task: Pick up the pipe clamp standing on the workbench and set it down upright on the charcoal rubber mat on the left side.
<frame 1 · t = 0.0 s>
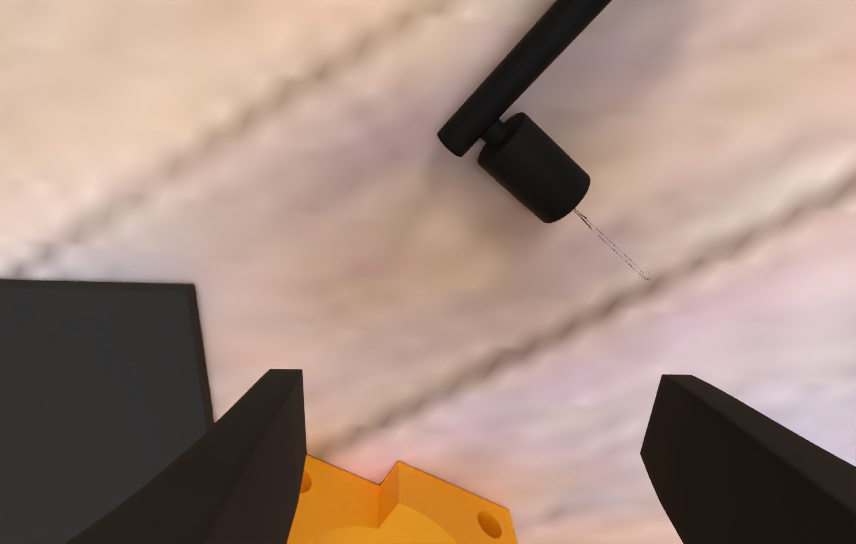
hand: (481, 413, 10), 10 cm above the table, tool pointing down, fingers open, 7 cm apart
light fixture: (622, 85, 18), on the table
mat: (64, 479, 23), on the table
pipe clamp: (383, 491, 24), on the table
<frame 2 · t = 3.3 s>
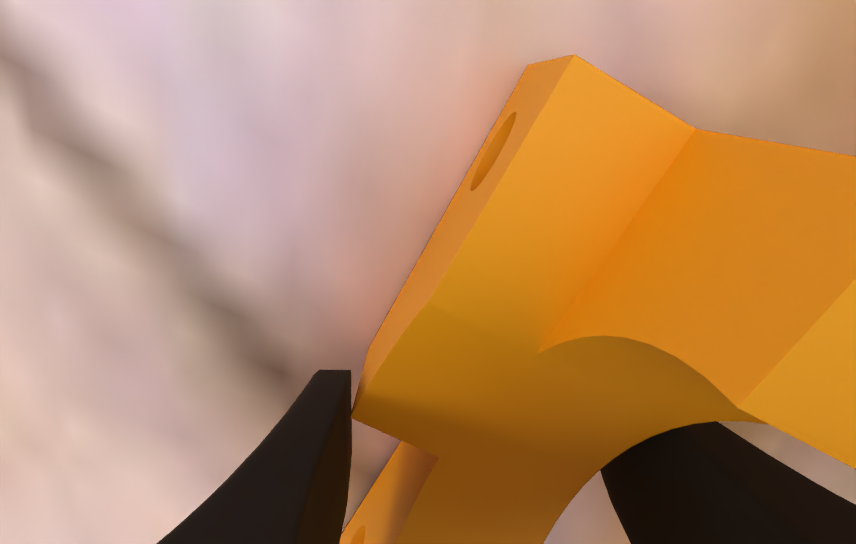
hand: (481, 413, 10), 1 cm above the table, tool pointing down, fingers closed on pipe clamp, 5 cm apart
pipe clamp: (465, 368, 11), on the table, touching gripper
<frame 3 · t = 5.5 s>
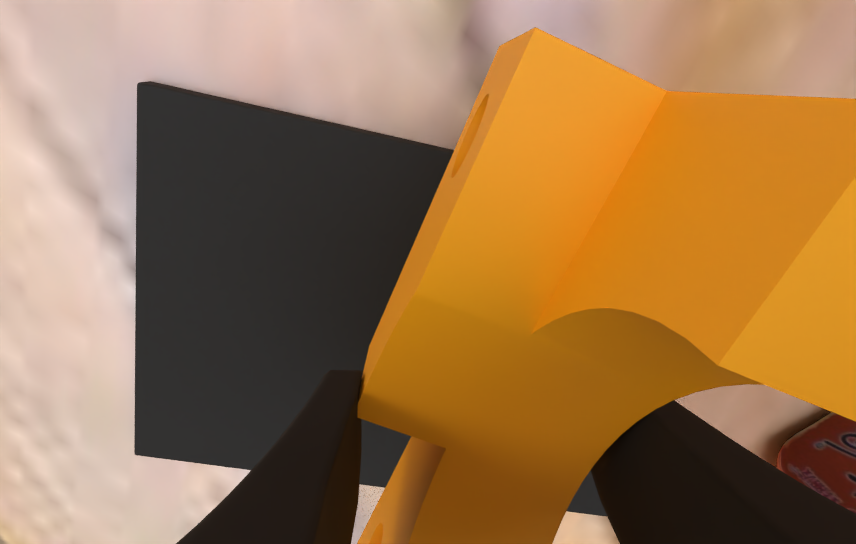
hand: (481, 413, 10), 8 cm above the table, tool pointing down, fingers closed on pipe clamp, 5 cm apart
mat: (421, 335, 19), on the table
pipe clamp: (468, 358, 11), point 7 cm above the table, touching gripper
when the fingers open (2 cm above the table, at t = 7.8 s): pipe clamp stays where it is, resting on mat.
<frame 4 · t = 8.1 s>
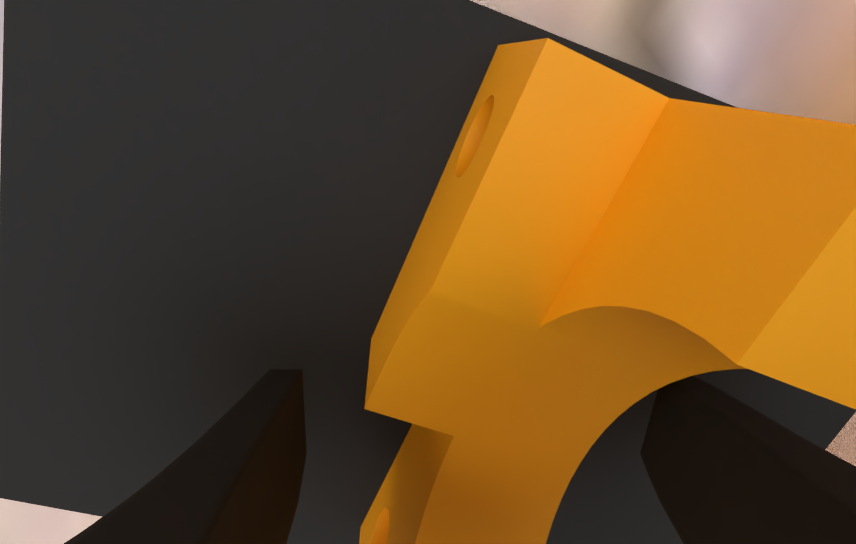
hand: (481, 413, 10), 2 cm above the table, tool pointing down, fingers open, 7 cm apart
mat: (465, 348, 12), on the table
pipe clamp: (466, 347, 12), point 1 cm above the table, touching mat
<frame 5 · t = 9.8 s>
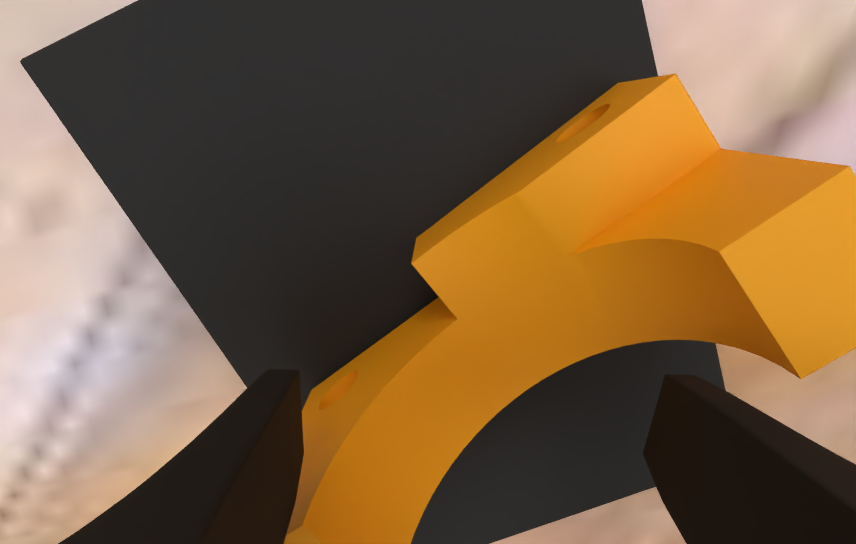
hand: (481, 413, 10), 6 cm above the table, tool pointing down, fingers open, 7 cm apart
mat: (452, 289, 15), on the table
pipe clamp: (476, 284, 14), point 1 cm above the table, touching gripper, mat
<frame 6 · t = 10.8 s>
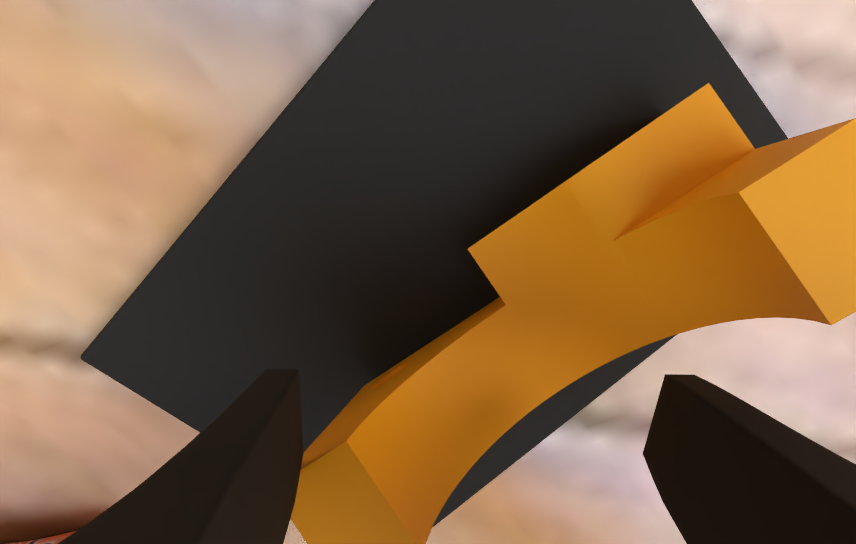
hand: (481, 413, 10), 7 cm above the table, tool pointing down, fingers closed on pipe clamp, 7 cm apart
mat: (448, 274, 16), on the table
pipe clamp: (527, 294, 15), point 1 cm above the table, touching gripper, mat
when the fingers open (8 cm above the table, at t = 11.6 s): pipe clamp drops 1 cm, resting on mat.
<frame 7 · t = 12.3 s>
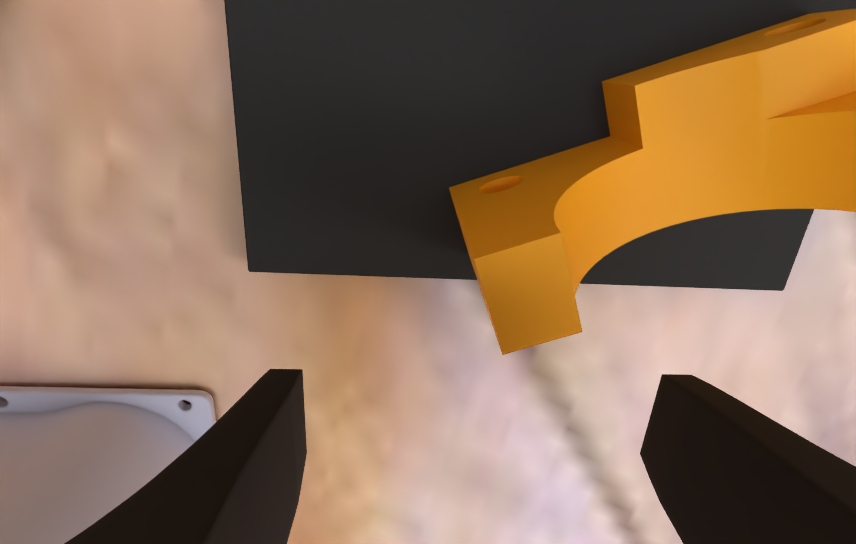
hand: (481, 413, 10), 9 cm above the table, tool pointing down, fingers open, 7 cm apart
mat: (549, 77, 16), on the table
pipe clamp: (623, 143, 17), point 1 cm above the table, touching mat
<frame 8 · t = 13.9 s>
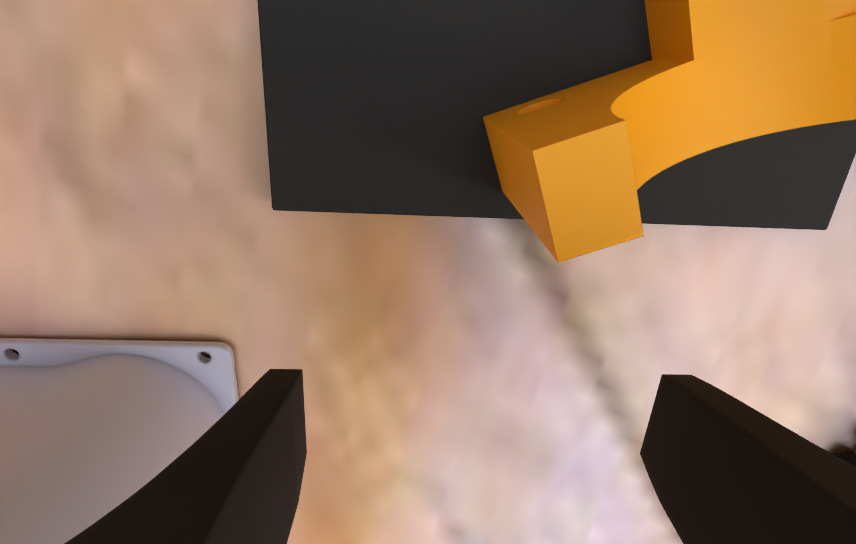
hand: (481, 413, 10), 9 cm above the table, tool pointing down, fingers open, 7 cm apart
pipe clamp: (665, 68, 16), point 1 cm above the table, touching mat
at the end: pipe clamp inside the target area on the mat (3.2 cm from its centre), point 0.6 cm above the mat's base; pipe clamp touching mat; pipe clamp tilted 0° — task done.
